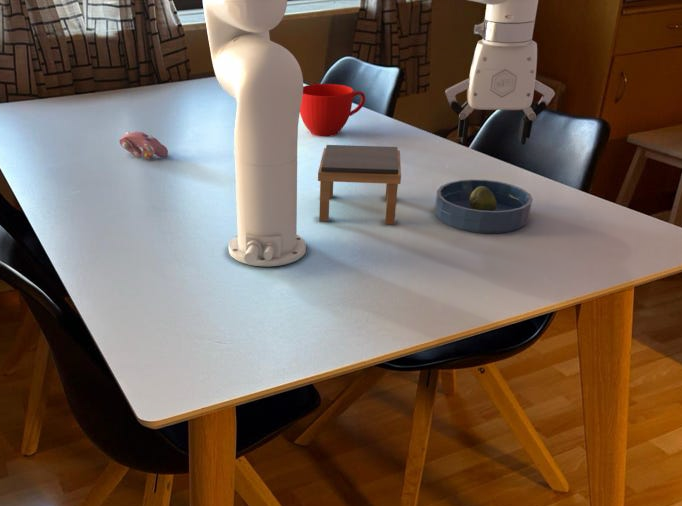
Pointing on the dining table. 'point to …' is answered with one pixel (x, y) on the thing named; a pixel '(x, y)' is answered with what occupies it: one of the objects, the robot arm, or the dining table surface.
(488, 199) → the lime
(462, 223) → the bowl
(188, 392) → the dining table surface
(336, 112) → the ceramic cup
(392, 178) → the stool
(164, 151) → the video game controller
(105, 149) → the dining table surface
